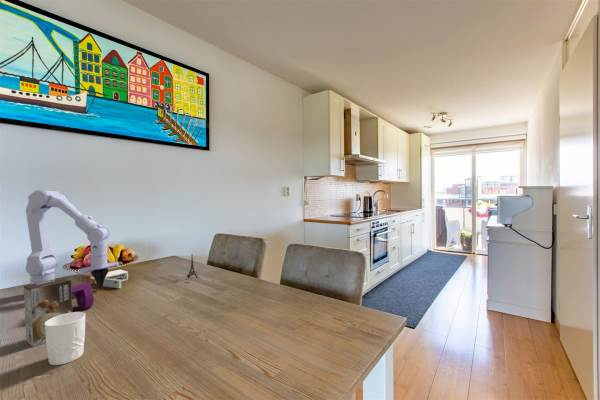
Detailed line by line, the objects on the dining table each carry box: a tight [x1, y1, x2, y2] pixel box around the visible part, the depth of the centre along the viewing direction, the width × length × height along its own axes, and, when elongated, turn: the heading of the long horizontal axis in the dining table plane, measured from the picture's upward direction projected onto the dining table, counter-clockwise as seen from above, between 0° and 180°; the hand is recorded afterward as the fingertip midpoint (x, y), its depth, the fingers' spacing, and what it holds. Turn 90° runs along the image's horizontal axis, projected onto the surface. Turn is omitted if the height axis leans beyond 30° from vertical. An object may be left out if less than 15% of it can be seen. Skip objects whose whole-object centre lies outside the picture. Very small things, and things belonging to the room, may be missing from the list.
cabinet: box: [94, 269, 129, 285], centre depth 131 cm, size 8×11×4 cm
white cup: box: [44, 311, 86, 366], centre depth 69 cm, size 8×8×10 cm
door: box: [103, 278, 122, 289], centre depth 122 cm, size 1×11×4 cm, turn 72°
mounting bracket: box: [71, 281, 95, 310], centre depth 99 cm, size 10×8×18 cm
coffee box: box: [23, 277, 73, 348], centre depth 79 cm, size 9×6×16 cm
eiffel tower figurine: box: [186, 254, 199, 279], centre depth 136 cm, size 15×10×13 cm
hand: (100, 286), depth 118 cm, fingers closed
